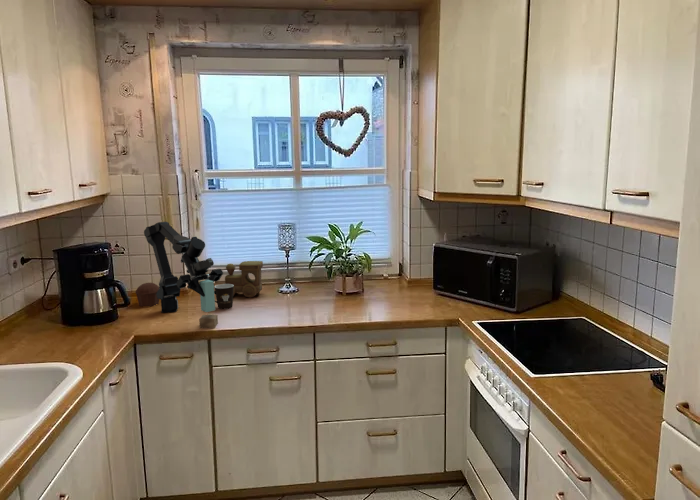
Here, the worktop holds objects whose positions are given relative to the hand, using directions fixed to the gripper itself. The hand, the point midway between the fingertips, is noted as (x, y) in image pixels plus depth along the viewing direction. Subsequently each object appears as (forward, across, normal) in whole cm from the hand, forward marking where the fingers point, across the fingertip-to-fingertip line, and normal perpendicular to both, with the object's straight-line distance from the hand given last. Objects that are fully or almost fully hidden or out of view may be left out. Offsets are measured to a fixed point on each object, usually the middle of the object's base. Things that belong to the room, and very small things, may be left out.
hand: (209, 295), depth 213 cm
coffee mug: (-5, +19, +24) cm, 31 cm away
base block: (+9, 0, +10) cm, 13 cm away
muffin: (-27, -1, +46) cm, 54 cm away
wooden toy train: (-13, +38, +32) cm, 51 cm away
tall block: (+4, 0, +6) cm, 7 cm away
